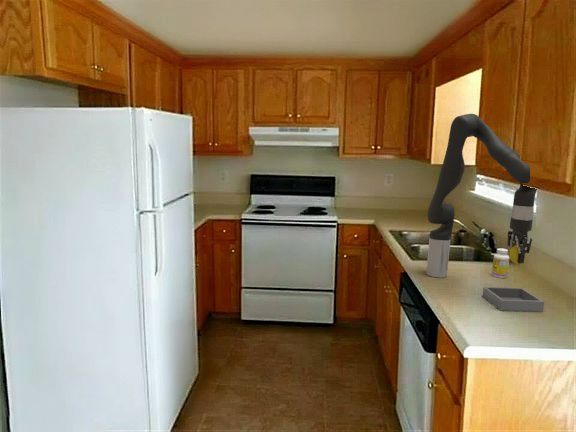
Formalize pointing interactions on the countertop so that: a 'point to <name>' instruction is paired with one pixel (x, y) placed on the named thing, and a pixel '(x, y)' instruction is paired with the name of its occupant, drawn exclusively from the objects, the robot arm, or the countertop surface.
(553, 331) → the countertop surface
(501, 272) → the supplement bottle
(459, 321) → the countertop surface
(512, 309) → the box
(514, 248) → the lemon
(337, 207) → the countertop surface
